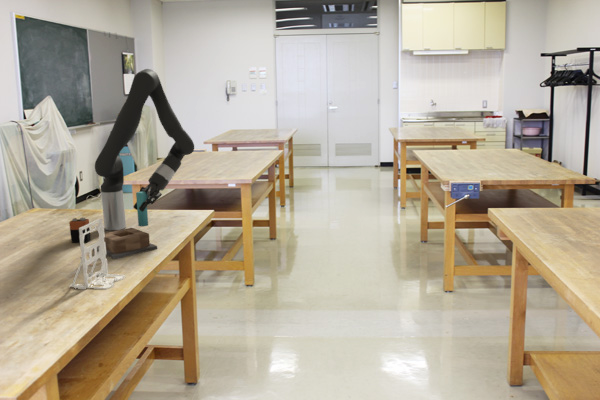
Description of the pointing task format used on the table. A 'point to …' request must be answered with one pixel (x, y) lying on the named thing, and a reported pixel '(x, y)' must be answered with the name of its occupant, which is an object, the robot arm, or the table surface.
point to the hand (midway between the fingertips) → (138, 209)
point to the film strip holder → (100, 254)
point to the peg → (141, 215)
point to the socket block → (126, 243)
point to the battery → (74, 230)
